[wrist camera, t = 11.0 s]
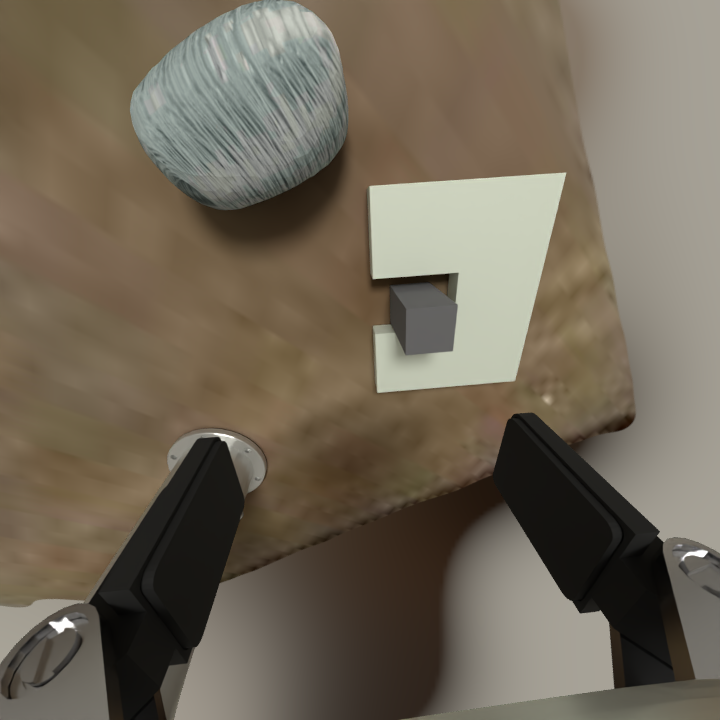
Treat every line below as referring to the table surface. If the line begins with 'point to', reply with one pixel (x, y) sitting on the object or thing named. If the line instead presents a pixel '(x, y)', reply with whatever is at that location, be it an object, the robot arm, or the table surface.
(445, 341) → the gray rectangular block
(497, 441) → the table surface
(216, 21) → the streaked blue-grey ovoid
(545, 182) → the board
